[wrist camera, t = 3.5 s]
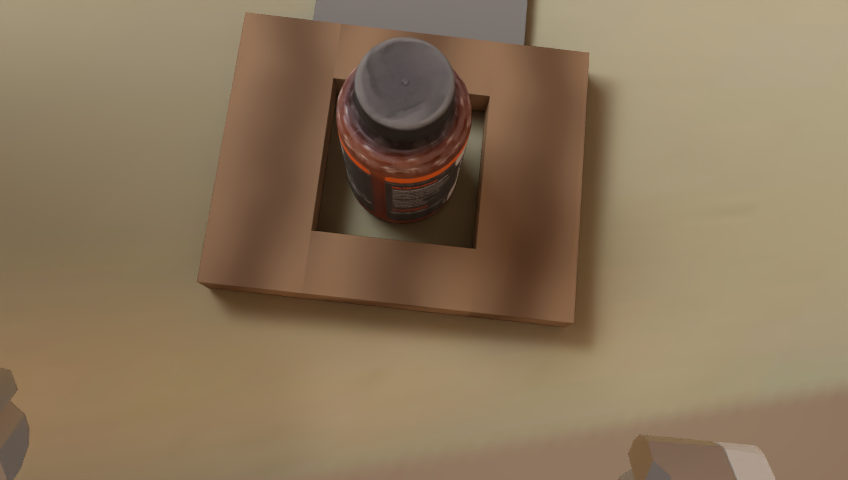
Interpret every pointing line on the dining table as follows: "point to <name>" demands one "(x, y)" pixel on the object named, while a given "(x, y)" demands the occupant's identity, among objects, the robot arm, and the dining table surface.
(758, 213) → the dining table surface
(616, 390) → the dining table surface
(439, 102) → the supplement bottle
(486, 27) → the slate-grey rubber mat
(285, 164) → the walnut dock board
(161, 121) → the dining table surface
